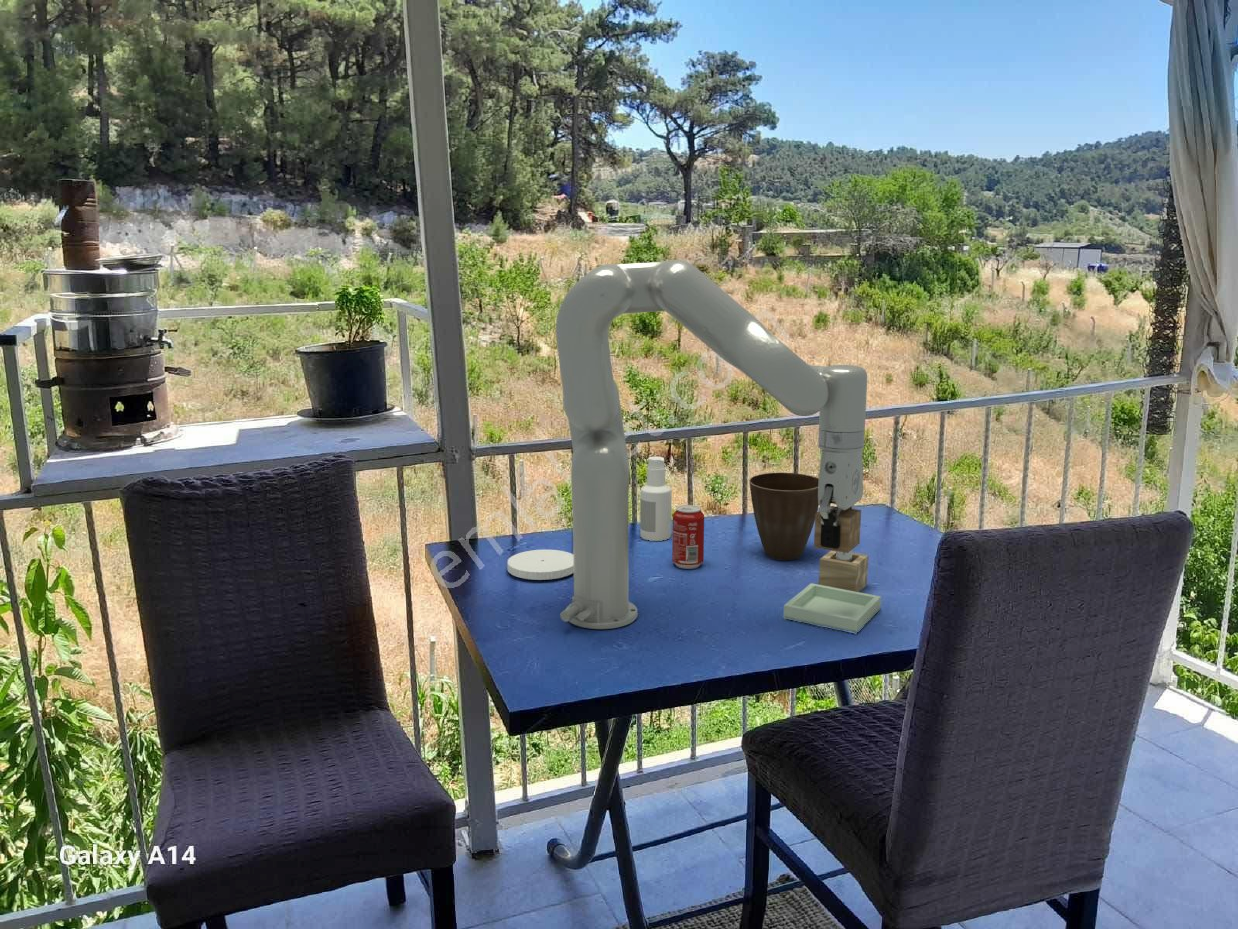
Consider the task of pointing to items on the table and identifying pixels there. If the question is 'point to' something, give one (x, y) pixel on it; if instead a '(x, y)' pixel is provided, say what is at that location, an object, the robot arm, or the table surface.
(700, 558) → the beverage can
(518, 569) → the plastic lid
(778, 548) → the plant pot
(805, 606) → the tray
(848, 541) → the block
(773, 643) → the table surface
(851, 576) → the go block
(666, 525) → the spray bottle
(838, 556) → the cylinder
